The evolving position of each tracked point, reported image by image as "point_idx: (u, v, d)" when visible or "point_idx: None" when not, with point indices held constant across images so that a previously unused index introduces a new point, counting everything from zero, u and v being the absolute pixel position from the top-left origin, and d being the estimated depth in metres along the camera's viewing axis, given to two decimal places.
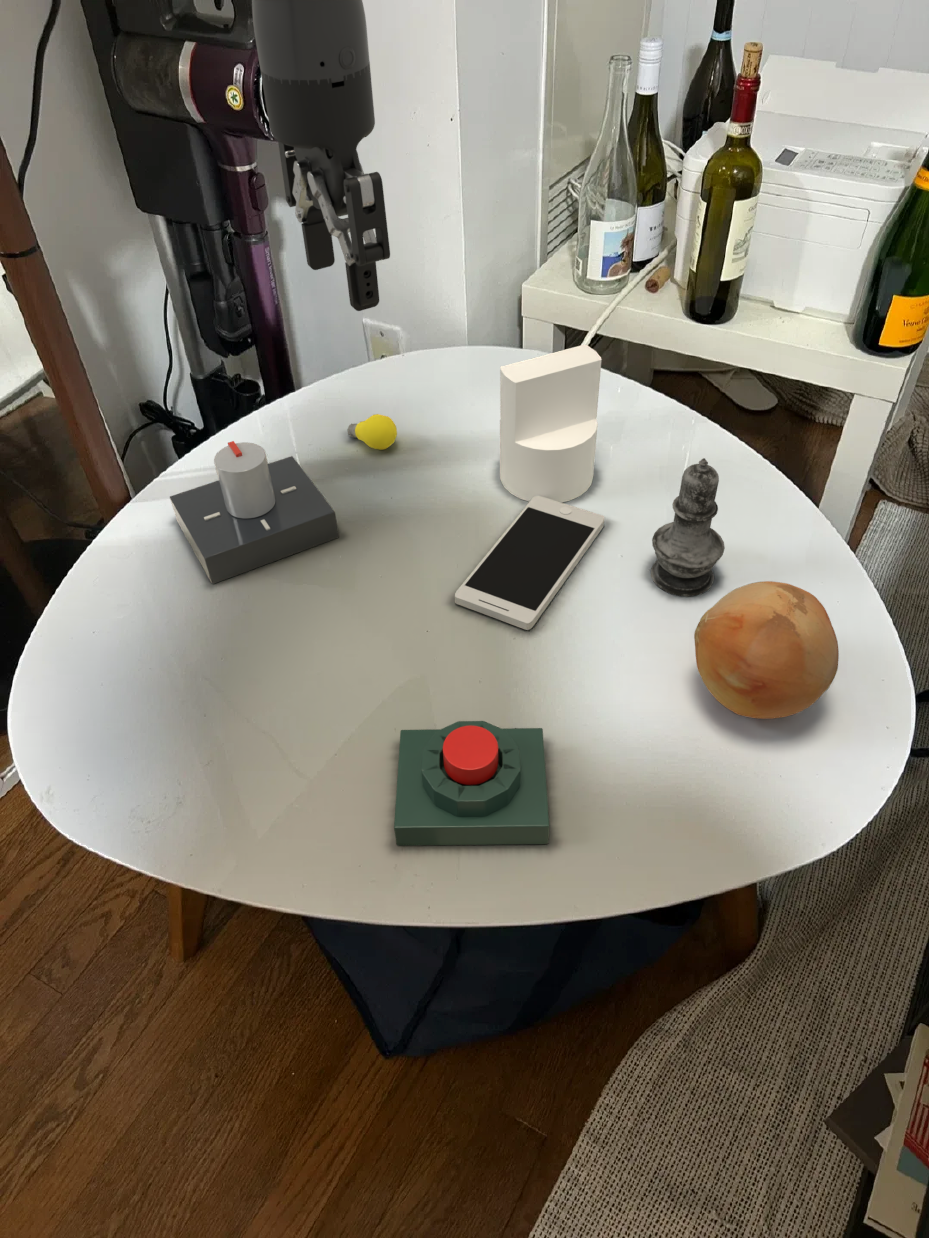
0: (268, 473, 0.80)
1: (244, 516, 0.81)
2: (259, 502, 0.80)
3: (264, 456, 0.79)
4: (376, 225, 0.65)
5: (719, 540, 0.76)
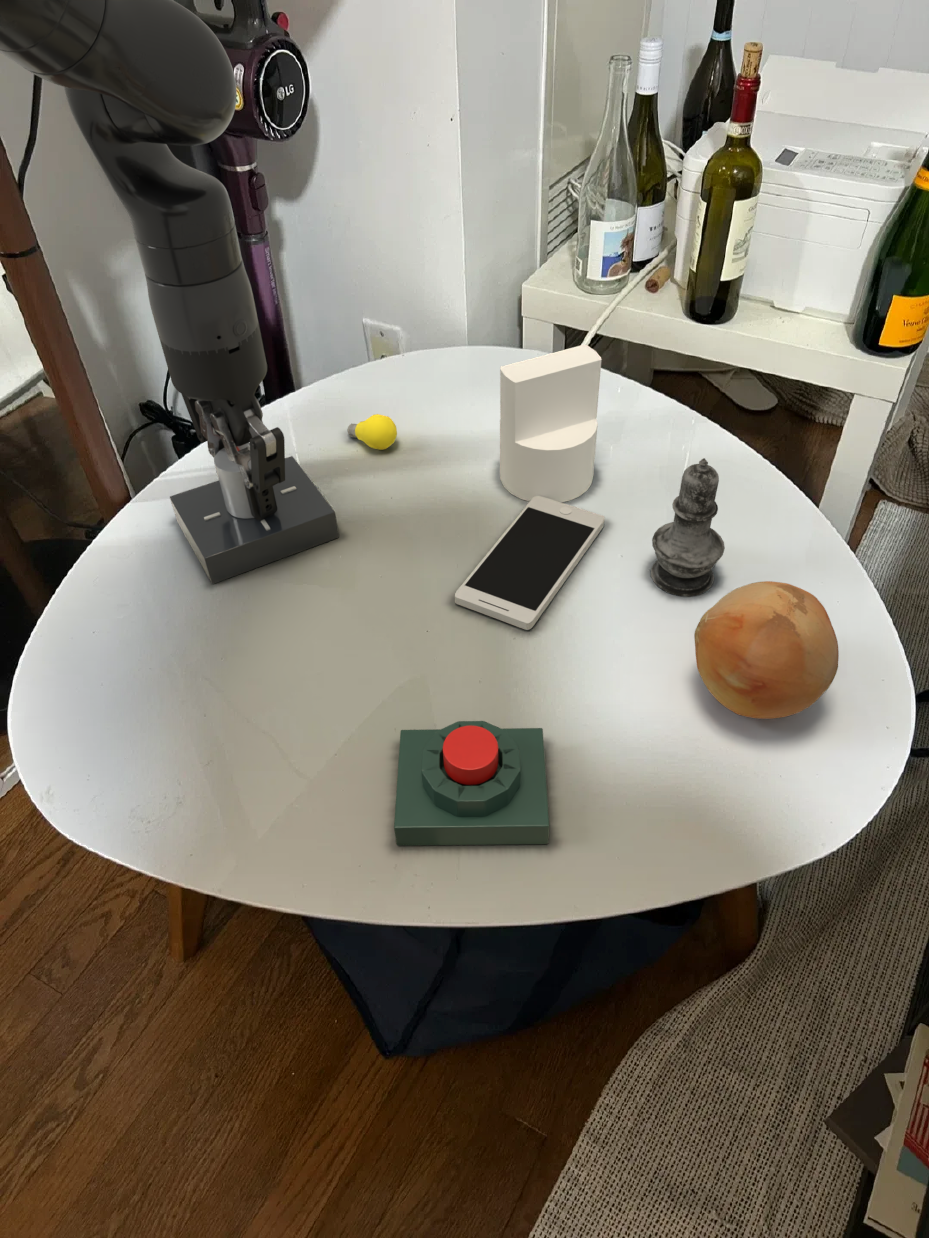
0: None
1: (244, 516, 0.81)
2: None
3: None
4: (276, 466, 0.74)
5: (719, 540, 0.76)
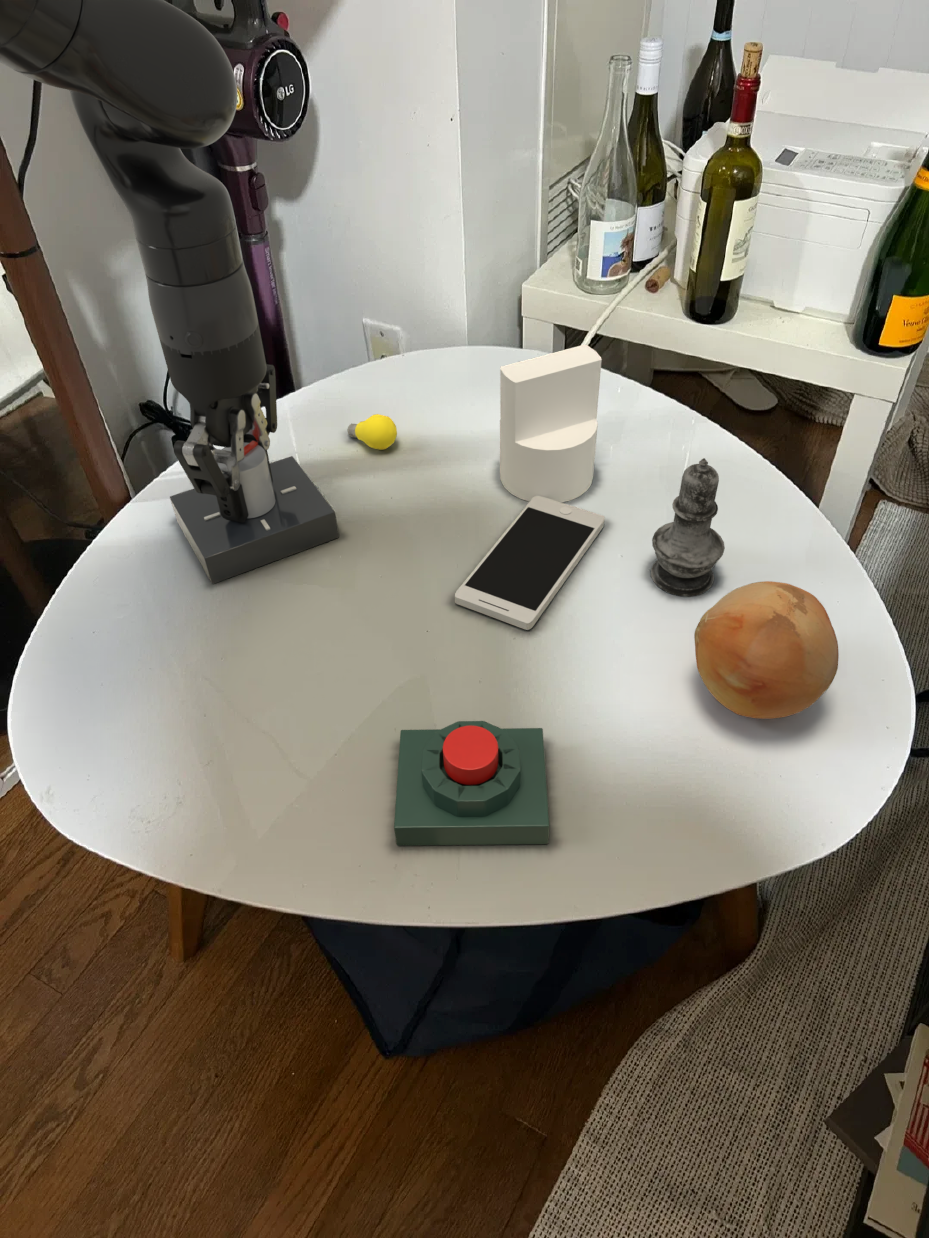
0: (251, 486, 0.79)
1: None
2: None
3: (248, 469, 0.77)
4: (204, 478, 0.73)
5: (719, 540, 0.76)
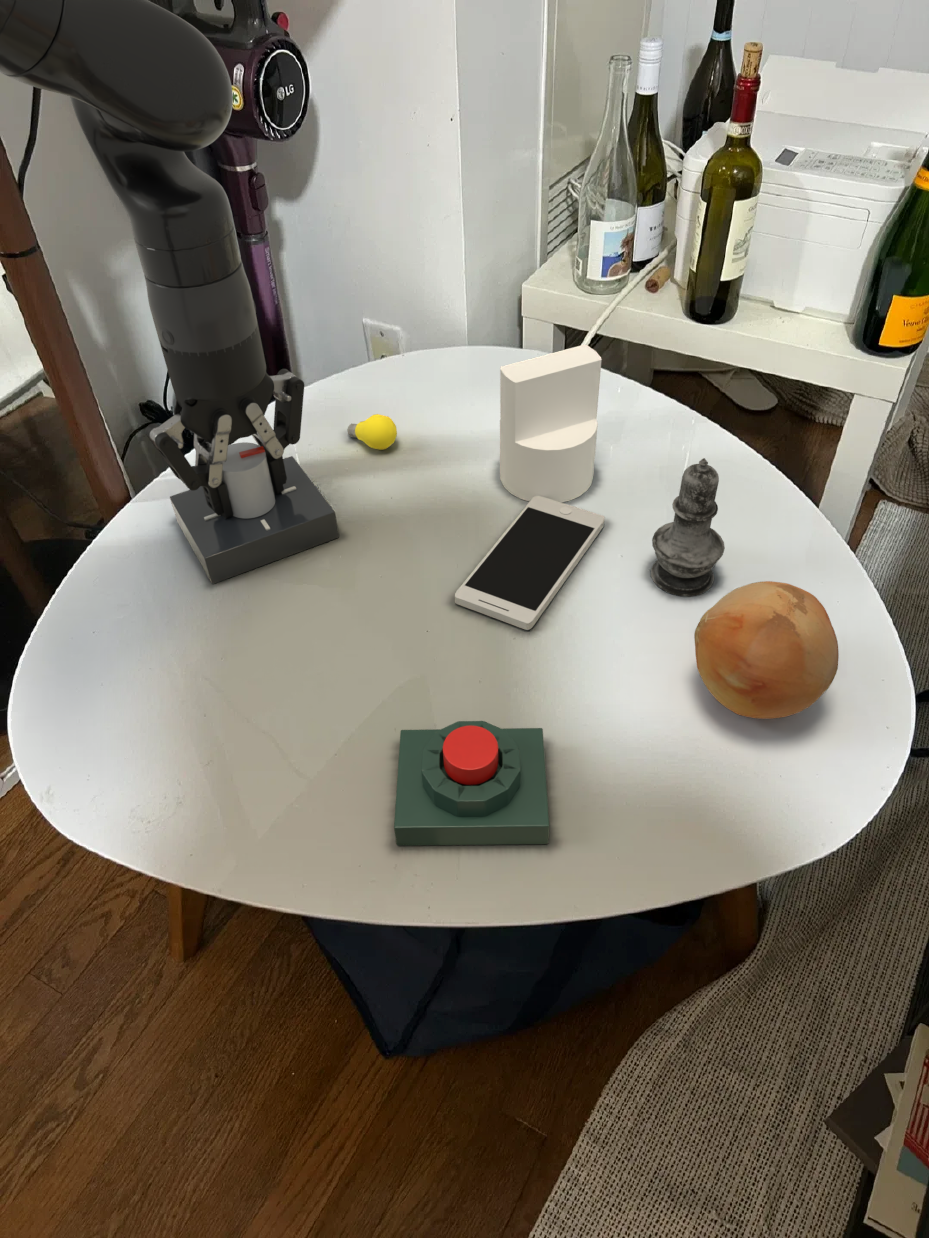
0: (235, 488, 0.78)
1: None
2: None
3: (232, 471, 0.77)
4: (171, 466, 0.75)
5: (719, 540, 0.76)
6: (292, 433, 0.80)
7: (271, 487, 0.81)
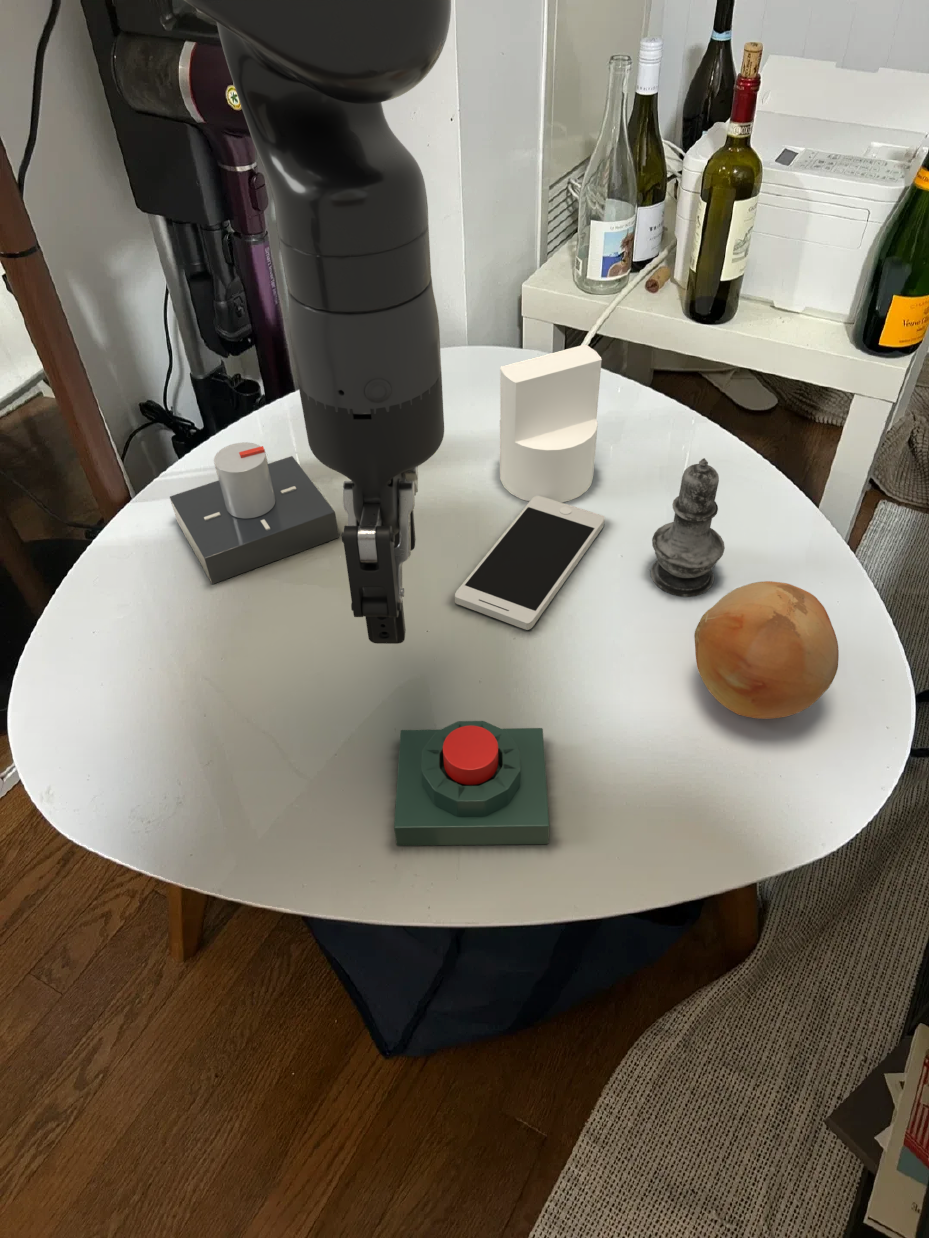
0: (235, 488, 0.78)
1: None
2: (224, 498, 0.81)
3: (232, 471, 0.77)
4: (378, 584, 0.49)
5: (719, 540, 0.76)
6: None
7: (271, 487, 0.81)
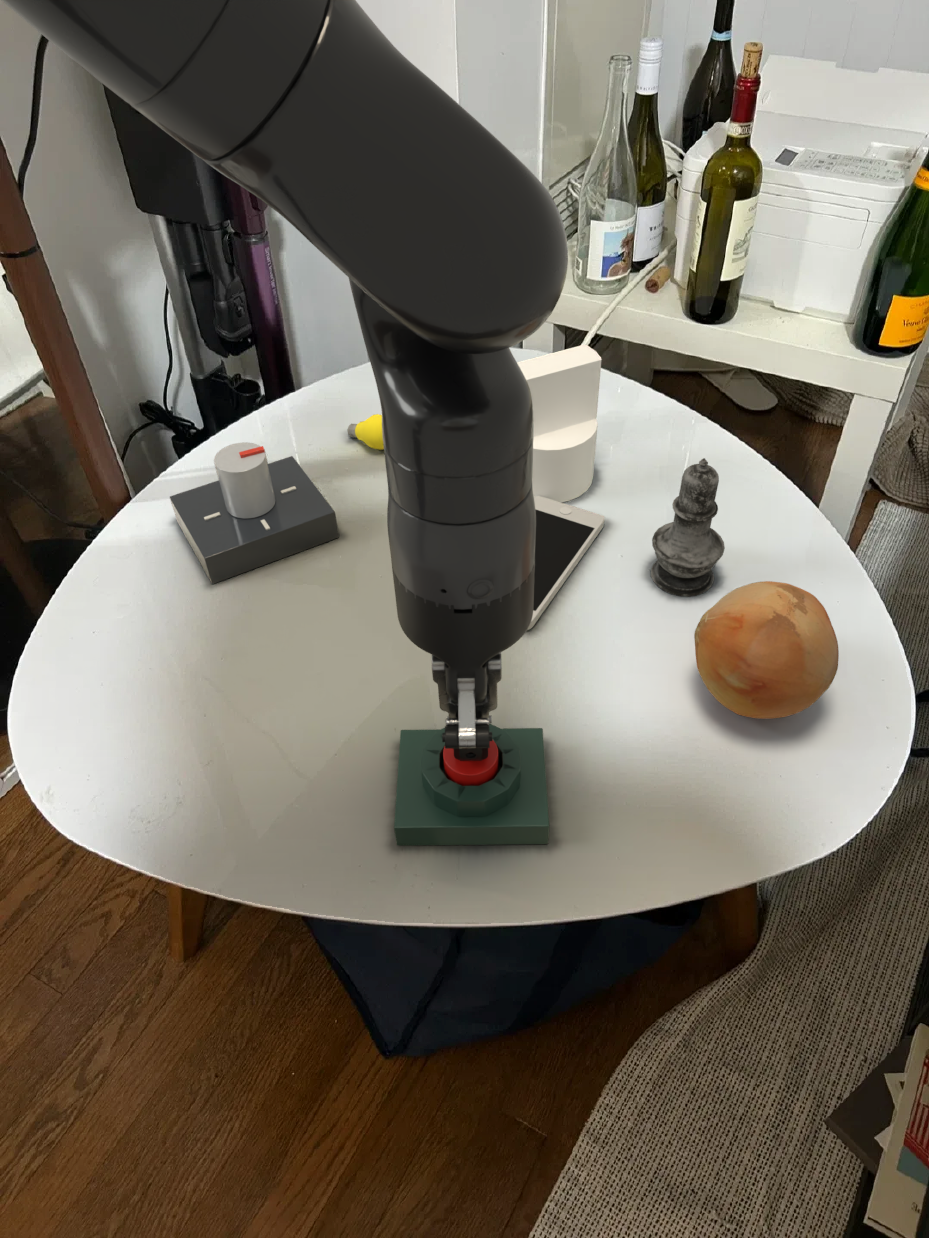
0: (235, 488, 0.78)
1: None
2: (224, 498, 0.81)
3: (232, 471, 0.77)
4: None
5: (719, 540, 0.76)
6: None
7: (271, 487, 0.81)
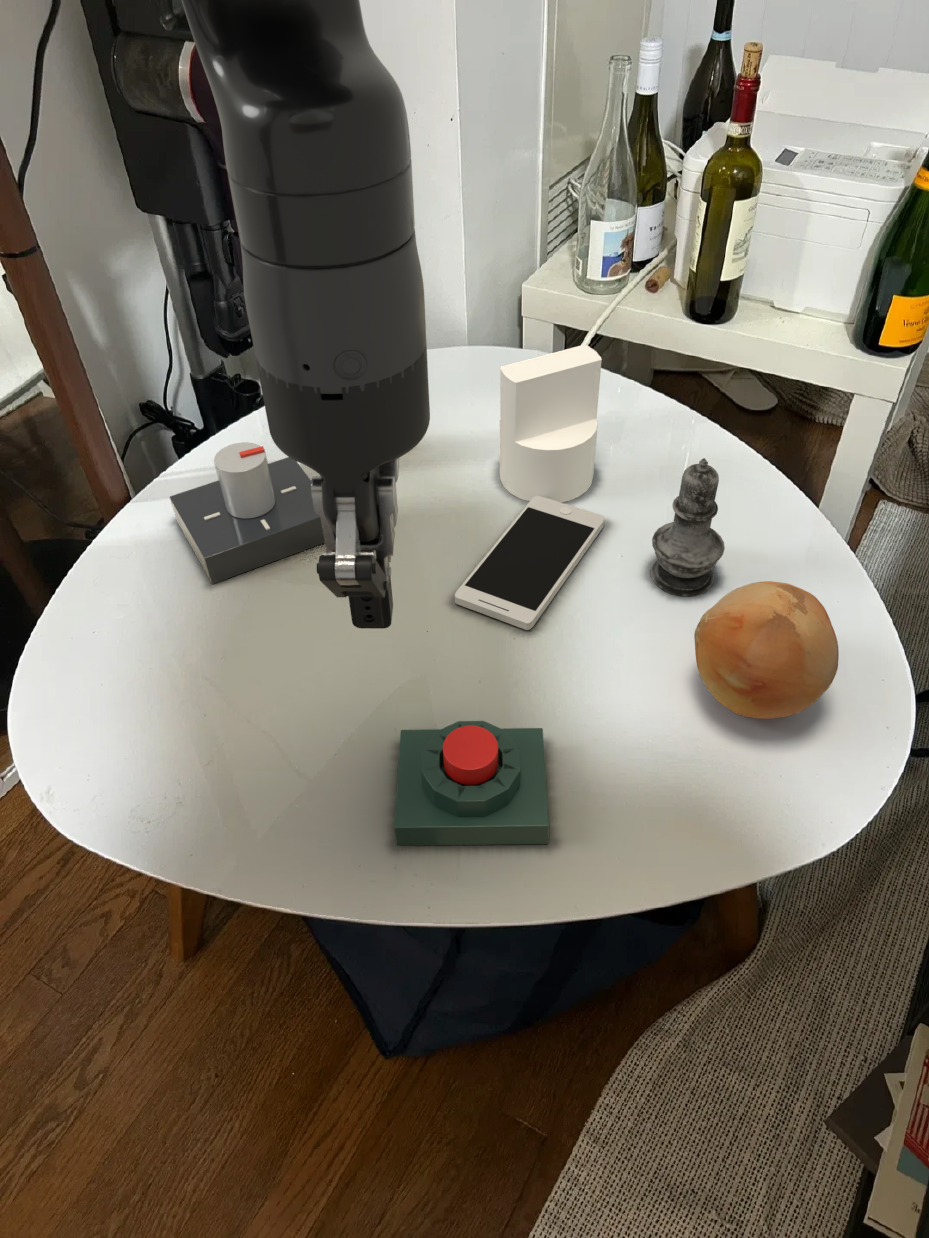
0: (235, 488, 0.78)
1: None
2: (224, 498, 0.81)
3: (232, 471, 0.77)
4: (362, 590, 0.45)
5: (719, 540, 0.76)
6: None
7: (271, 487, 0.81)
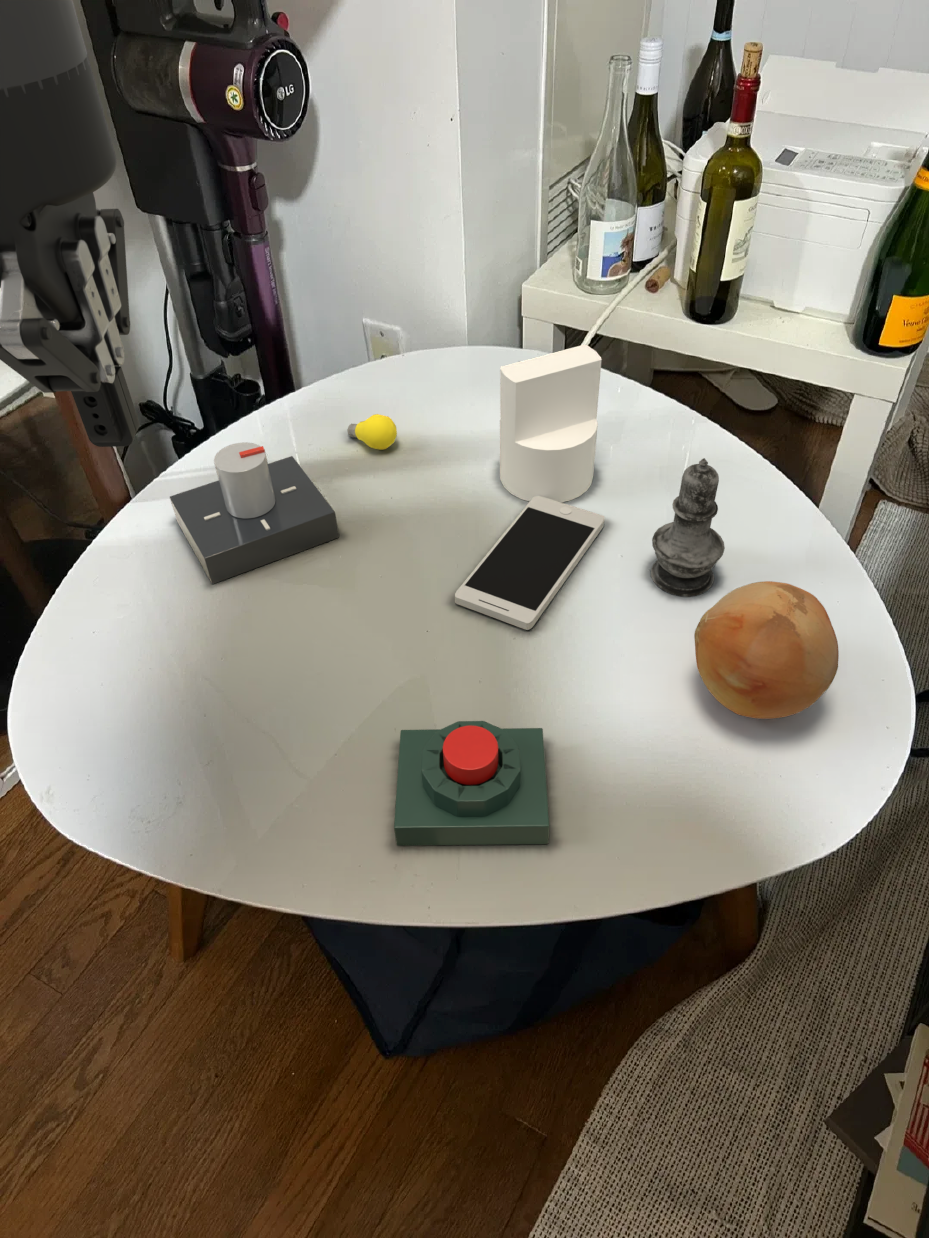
0: (235, 488, 0.78)
1: None
2: (224, 498, 0.81)
3: (232, 471, 0.77)
4: (55, 373, 0.40)
5: (719, 540, 0.76)
6: (121, 313, 0.45)
7: (271, 487, 0.81)
